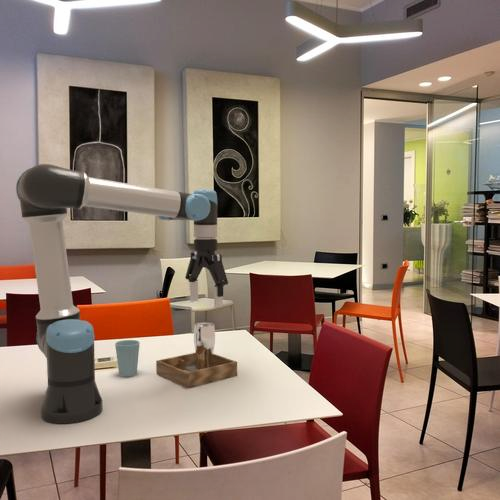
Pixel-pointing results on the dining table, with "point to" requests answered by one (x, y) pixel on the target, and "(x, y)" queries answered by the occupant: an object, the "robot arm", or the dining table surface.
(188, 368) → the caddy
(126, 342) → the cup
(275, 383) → the dining table surface
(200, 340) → the shiny metal cylinder
